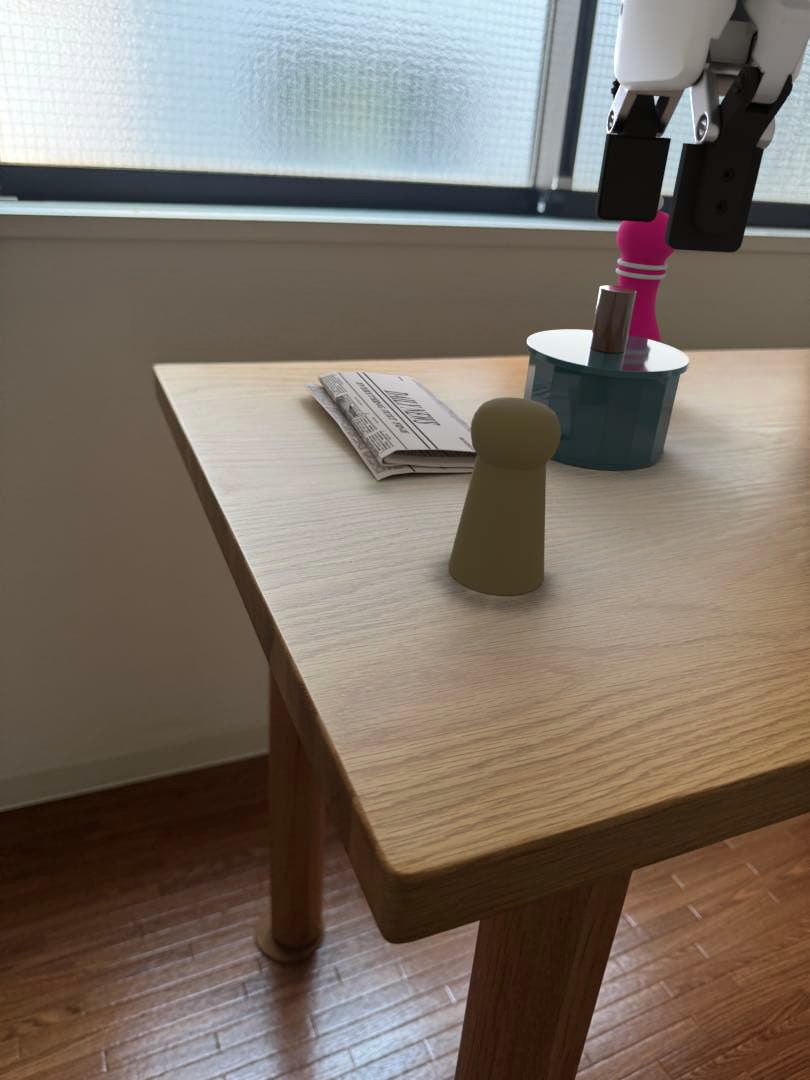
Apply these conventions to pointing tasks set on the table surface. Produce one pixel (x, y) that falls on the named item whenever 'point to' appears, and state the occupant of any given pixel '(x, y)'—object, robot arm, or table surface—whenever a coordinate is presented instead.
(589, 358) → the tin lid
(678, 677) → the table surface
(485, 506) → the olive brown pawn
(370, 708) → the table surface
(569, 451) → the tin
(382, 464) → the newspaper
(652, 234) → the pepper mill
